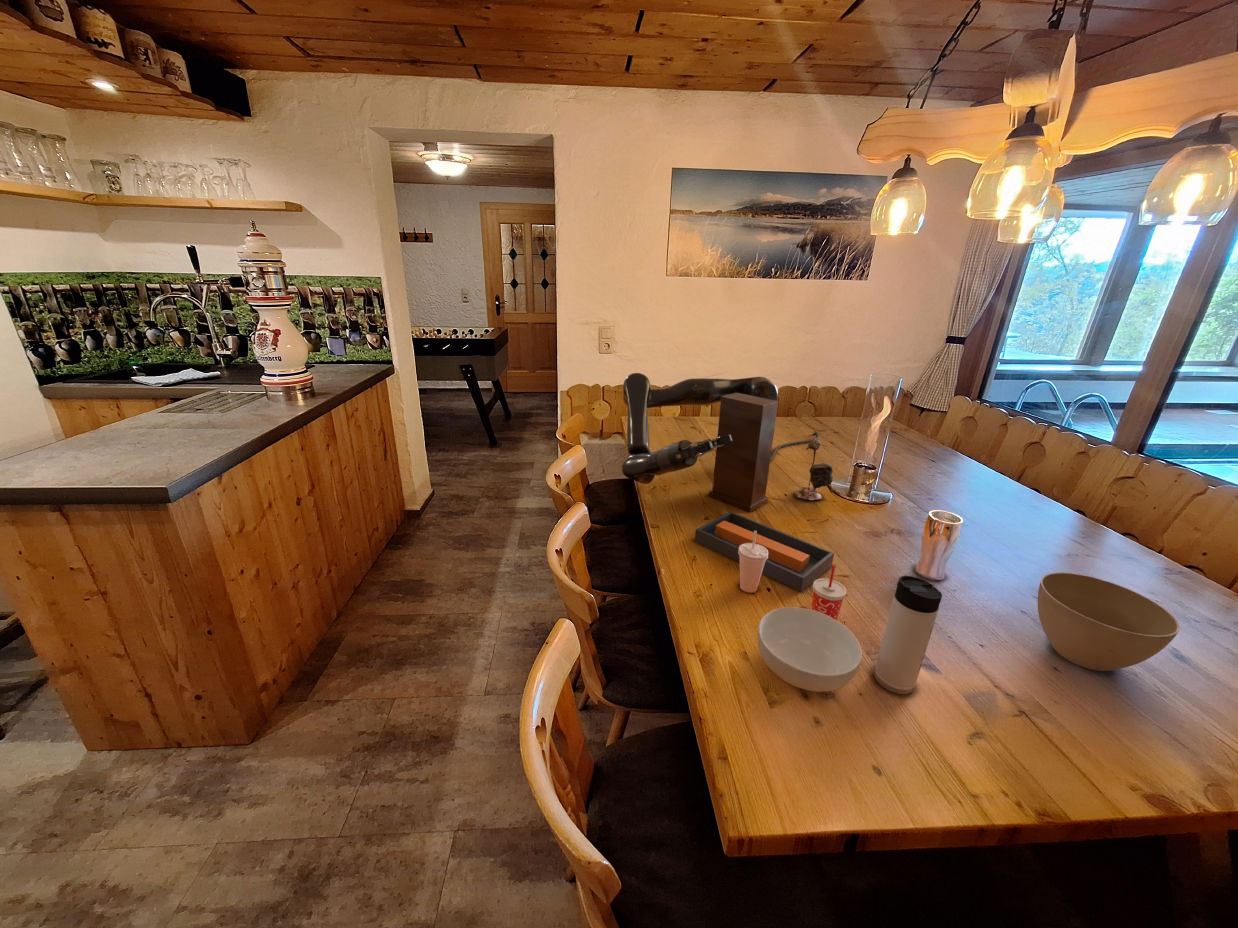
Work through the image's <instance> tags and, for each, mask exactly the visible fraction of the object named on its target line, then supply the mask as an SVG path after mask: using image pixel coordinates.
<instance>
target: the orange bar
mask: <svg viewBox="0 0 1238 928" xmlns="http://www.w3.org/2000/svg"><path fill="white" fill-rule="evenodd" d="M715 535H716V536H718V537H720V538H722V539H725V540H727V541H729V542H732V543H734V544H736V545H738V546H740V545H742V544H745V543H753V536H754V532H751V531H749V530H746V529H744V528H741V527H739V526H737V525H734V524H732V523H729V522H727V521H723V522H721V523H719V524H717V525H716V528H715ZM755 544H759V545H761V546H763V547H765V548H766V549H767V550H768V559H770V560H773V561H775V562H777V563H779V564H782V565H784V566H786V567H789V568H791V569H793V570H795V571H798V572H801V571H802V570H804V569H805V568H806V567H807V566H808V562H809V556H810V555H808V554H805V553H803V552H800V551H798V550H795V549H793V548H790V547H788V546H786V545H783V544H781V543H778V542H776V541H773V540H771V539H768V538H766V537H764V536H761V535H759V534H756V541H755Z"/></svg>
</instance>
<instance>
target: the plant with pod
mask: <svg viewBox="0 0 1238 928" xmlns="http://www.w3.org/2000/svg"><path fill="white" fill-rule="evenodd" d="M811 439H812V440H811ZM811 439H810V440H811V441H810V442H808V443H807V447H806V448H805V450H806V451H808V450H809V449H810V450H813V458H812V465H811V466H810V468H809V482H808V486H806V485H803V486H802V487H801V489H800V488H799V489H795V490H794V497H796V498H799V499H802V500H809V501H816V500H823V497H822V494H821V493H820V491H817V489H820V488H824V487H827V489H828V490H829V492H830V493H831V494H833V493H834V492H833V490H832V488H831V486H830V485H831V484H832V482H833V479H834V478H833V472H834V471H833V470H834V469H833V465H831V464H830V463H828V462H821V463H820V462H819V463H815V460H816V453H817V451H818V450H819V449H820V446H821V445H822V442H821V440H819V439H816V437H812V438H811ZM811 484H812V487H811V486H810V485H811Z"/></svg>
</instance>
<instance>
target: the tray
mask: <svg viewBox="0 0 1238 928" xmlns="http://www.w3.org/2000/svg"><path fill="white" fill-rule="evenodd" d="M723 521H727V522H729V523H732V524H734V525H737V526H739V527H741V528H744V529H746V530H749V531H751V532H754V531H757V534H759V535H761V536H764V537H766V538H768V539H771V540H773V541H776V542H778V543H781V544H783V545H786V546H788V547H790V548H793V549H795V550H798V551H800V552H803V553H805V554H808V555H810V556H809V562H808V566H807V567H806V568H805V569H804V570H802V571H801V572H798V571H795V570H793V569H791V568H789V567H786V566H784V565H782V564H779V563H777V562H775V561H773V560H770V559H768V558H767V559H766V561H765V564H764V567H763V571H762V574H761V575H764V576H767V577H768V578H770V579H772V580H775V581H777V582H779V583H781V584H783V585H785V586H788V587H790V588H791V589H793V590H795V591H798V592H800V593H802V592H803V591H804V590H805V589H806V588H807V587H809V586H810V585H811V584H813V582H814V581H815V580H817V579H819V578H820V577H821V575H823V574H824V573H825V572H826V571H827V570H828V569H829V568H832V566H833V563H834V556H835V552H833V551H831V550H828V549H826V548H823V547H821V546H818V545H816V544H813V543H811V542H808V541H806V540H803V539H801V538H798V537H795V536H793V535H791V534H788V533H786V532H783V531H781V530H779V529H776V528H773V527H771V526H768V525H766V524H763V523H761V522H758V521H756V520H754V519H751V518H748V517H746V516H744V515H741V514H739V513H736V512H733V511H731V510H730V511H728V512H726V513H724V514H722V515H721V516H719V517H717V518H715V519H713V520H711V521H709V522H707V523H705V524H703V525H702V526H699V527H697V528H695V534H694V542H695V543H697V544H700V545H702V546H703V547H705V548H708V549H710V550H712V551H714V552H716V553H718V554H720V555H723V556H725V557H727V558H729V559H731V560H733V561H735V562H737V563H739V564H740V560H739V554H738V550H739V546H738V545H736V544H734V543H732V542H729V541H727V540H725V539H722V538H720V537H718V536H716V535H715V528H716V525H717V524H719V523H721V522H723Z"/></svg>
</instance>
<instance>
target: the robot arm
mask: <svg viewBox="0 0 1238 928" xmlns="http://www.w3.org/2000/svg"><path fill="white" fill-rule="evenodd" d="M733 393H741V394H745V395H750V396H755V397H760V398H765V399H770V400H775V401H778V398H779V390H778V387H777V385H776V384H775V383H774V382H773V381H771V380H770V379H769V378H767V377H764V376H753V377H745V378H734V379H731V378H730V379H729V378H710V377H709V378H707V377H706V378H705V377H704V378H703V377H698V378H687V379H684V380H681V381H679V382H677V383H674V384H673V385H670V386H667V387H663V388H652V387H651V382H650V379H649V377H647V375H646V374H644V373H641V372H633V373H630V374H628V375H627V376H626V377H625V379H624V381H623V385H622V396H623V397H622V399H623V402H624V405H625V406H627V426H626V427H627V428H626V448H627V449H626V450H627V452H628V454H629V456H628V457H626V458H625V459H624V461H623V462H622V464H621V472H622V474H623V476H624V477H626V478H628V479H629V480H632V481H635V482H637V483H640V484H642V485H649V484H650V483H652V482H653V481H654V479H655V477H656V476H663V475H665V474H669V473H674V472H678V471H680V470H681V471H682V470H684V469H687V468H691V467H693V466H695V465H696V464H697V461H698V458H700V457H703V456H705V455H706V454H708V453H711V452H714V450H715V449H716V448H717V447H721V446H723V445H725V444H727V443H730V442H732V438H731V435H730V434H728V435H725V436H721V437H720V436H719V437H717V436H716V438H712V439H711V438H706V439H705V440H701V441H695V442H694V443H693V442H692V441H690V440H688V439H681V440H679V441H677V442H673V443H671V444H669V445H665V446H664V447H663V448H661V449H659V450H656V451H653V452H652V451H651V448H650V447H651V446H650V431H649V430H650V429H649V417H648V409H652V408H653V409H654V408H661V407H683V406H686V407H687V406H690V407H700V406H701V407H702V406H703V407H704V406H705V407H706V406H712V405H713V406H714V405H717V404H721V397H722V396H726V395H730V394H733ZM813 435H814V436H815V438H816V439H817V440H819V433H818V432H817V431H814V433H813ZM811 440H812V438H811V439H805V440H800V441H799V440H798V441H792V442H788V443H784V444H780V445H778V446H776V447H775V448H774V449H773V451H772V452H771V458H770V461H772V459H773V458H774V456H775V455H776V452H777V451H779V450H780V449H781V448H785V447H788V446H792V445H799V444H800V445H801V444H805V443H809V442H810V441H811Z"/></svg>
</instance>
